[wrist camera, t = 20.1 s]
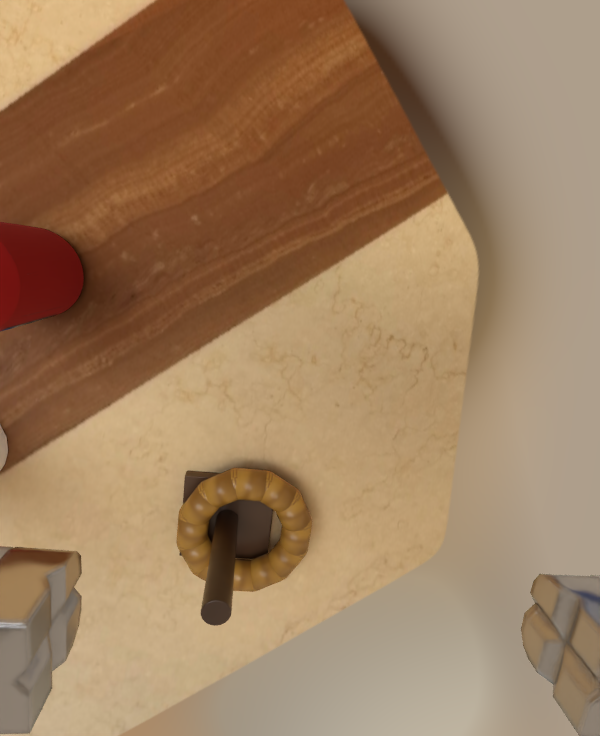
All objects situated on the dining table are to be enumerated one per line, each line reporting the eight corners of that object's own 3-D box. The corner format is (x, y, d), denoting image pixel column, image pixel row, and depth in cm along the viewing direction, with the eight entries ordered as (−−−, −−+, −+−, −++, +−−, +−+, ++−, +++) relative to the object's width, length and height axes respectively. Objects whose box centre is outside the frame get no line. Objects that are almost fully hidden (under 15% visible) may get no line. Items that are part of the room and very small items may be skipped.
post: (275, 476, 41) (282, 564, 29) (266, 552, 43) (269, 663, 31) (186, 470, 40) (157, 558, 28) (181, 548, 42) (151, 661, 30)
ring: (317, 469, 40) (321, 483, 37) (299, 580, 42) (302, 600, 40) (185, 458, 38) (180, 472, 36) (175, 573, 41) (170, 594, 39)
